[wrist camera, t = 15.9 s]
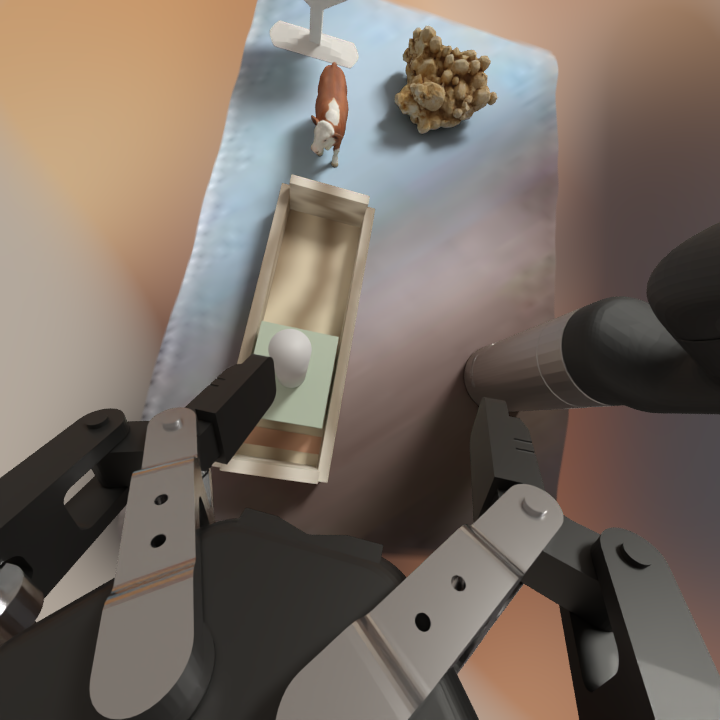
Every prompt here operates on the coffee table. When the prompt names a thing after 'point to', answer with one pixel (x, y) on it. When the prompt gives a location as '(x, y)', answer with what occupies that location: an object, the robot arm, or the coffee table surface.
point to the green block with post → (298, 372)
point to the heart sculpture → (315, 37)
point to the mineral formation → (442, 83)
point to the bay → (307, 314)
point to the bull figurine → (330, 112)
